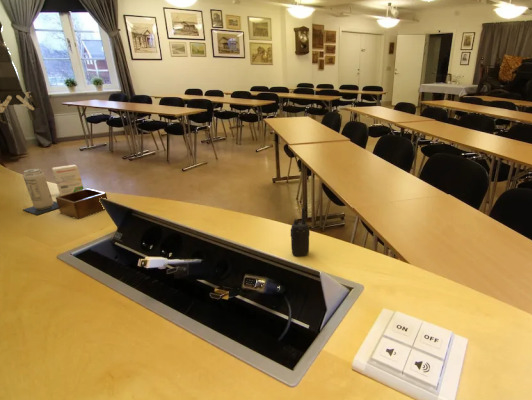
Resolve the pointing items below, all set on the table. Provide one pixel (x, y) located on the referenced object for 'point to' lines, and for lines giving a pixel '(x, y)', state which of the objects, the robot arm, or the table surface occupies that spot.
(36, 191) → the energy drink can
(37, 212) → the coaster
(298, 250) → the two-way radio
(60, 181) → the ink box
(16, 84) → the robot arm
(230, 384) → the table surface
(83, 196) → the brown wooden box
